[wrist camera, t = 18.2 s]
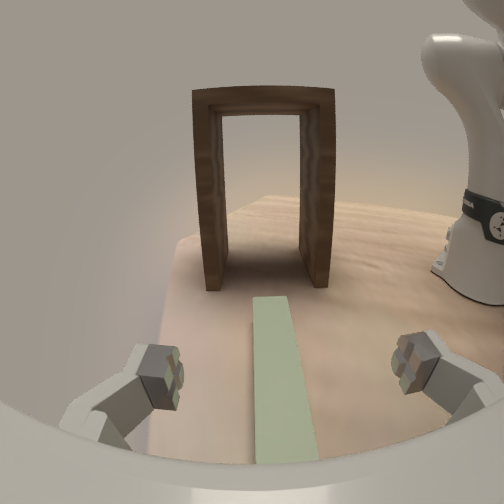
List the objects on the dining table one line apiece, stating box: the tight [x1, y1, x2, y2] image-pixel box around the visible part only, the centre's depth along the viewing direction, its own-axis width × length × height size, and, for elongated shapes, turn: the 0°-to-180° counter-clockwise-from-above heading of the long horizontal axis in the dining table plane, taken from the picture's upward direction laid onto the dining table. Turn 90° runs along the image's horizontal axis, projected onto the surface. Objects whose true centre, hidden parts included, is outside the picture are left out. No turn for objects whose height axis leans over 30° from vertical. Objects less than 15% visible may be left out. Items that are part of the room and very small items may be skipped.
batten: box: [253, 296, 319, 464], centre depth 20 cm, size 20×4×4 cm, turn 0°
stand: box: [192, 86, 336, 291], centre depth 37 cm, size 14×16×25 cm
